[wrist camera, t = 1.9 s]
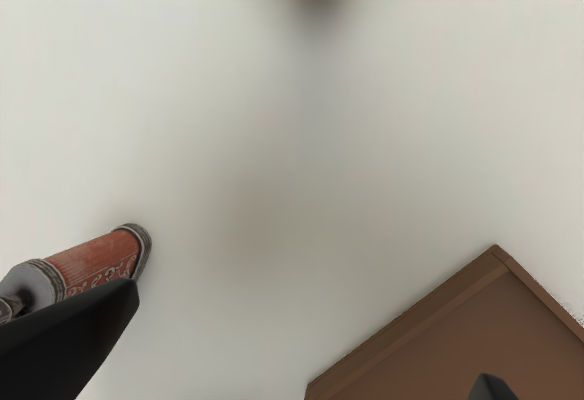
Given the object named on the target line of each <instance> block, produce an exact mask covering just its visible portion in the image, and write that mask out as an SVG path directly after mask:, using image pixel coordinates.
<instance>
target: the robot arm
mask: <svg viewBox="0 0 584 400" xmlns="http://www.w3.org/2000/svg"><path fill="white" fill-rule="evenodd" d="M139 302H140V301H139V295H138V289H137V284H136V281H135V280H133V279H130V278H127V277H118V278H115V279H113V280H110V281H108V282H105V283H103V284H100V285H98V286H95V287H93V288H91V289H88V290H86V291H83V292H81V293H78V294H76V295H73V296H71V297H68V298H66V299H63V300H61V301H59V302H56V303H54V304H51V305H49V306H46V307H44V308H41V309H39V310H36V311H34V312H31V313H29V314H26V315H24V316H22V317H19V318H17V319H14V320H12V321H9V322H7V323H4V324H2V325H0V400H75V399H76V397H77V396H78V395H79V393H80V392H81V391H82V389H83V388H84V387H85V386H86V384H87V383H88V382H89V380H90V379H91V378H92V376H93V375H94V374H95V373H96V371H97V370H98V369H99V367H100V366H101V365H102V363H103V362H104V361H105V359H106V358H107V356H108V355H109V353H110V352H111V350H112V349H113V347H114V346H115V344H116V342H117V341H118V339H119V338H120V336H121V335H122V333H123V331H124V330H125V328H126V327H127V325H128V324H129V322H130V320H131V319H132V317H133V316H134V314H135V313H136V311H137V309H138V307H139ZM468 400H520V399H519V398H518V396H517V395H516V394H515V393H514V391H513V390H512V389H511V388H510V387H509V385H508V384H507V383H506V382H505V380H503V379H502V378H501V377H499V376H496V375H492V374H488V373H480V374H479V376H478V377H477V379H476V381H475V383H474V385H473V387H472V389H471V391H470V393H469V397H468Z"/></svg>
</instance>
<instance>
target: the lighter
mask: <svg viewBox="0 0 584 400" xmlns="http://www.w3.org/2000/svg"><path fill="white" fill-rule="evenodd" d="M150 249H151V240H150V237H149V235H148V234H147V232H146V231H145V230H144V229H143V228H142V227H140V226H139V225H137V224H133V223H128V224H124V225H121V226H119V227H116V228H115V229H113V230H112V231H111V233H109V234H106V235H104V236H101V237H98V238H96V239H93V240H91V241H88V242H86V243H83V244H80V245H78V246H75V247H73V248H70V249H68V250H65V251H63V252H60V253H57V254H55V255H52V256H50V257H47V258H45V259H31V260H28V261H26V262H23V263H21V264H18V265H16V266H14V267H13V268H12V269H11V270H10V271H9V272H8V274H7V275H6V276H5V277H4V279H3V280H2V281H1V282H0V325H2V324H4V323H7V322H9V321H12V320H14V319H17V318H19V317H22V316H24V315H26V314H29V313H31V312H34V311H36V310H39V309H41V308H44V307H46V306H49V305H51V304H54V303H56V302H59V301H61V300H63V299H66V298H68V297H71V296H73V295H76V294H78V293H81V292H83V291H86V290H88V289H91V288H93V287H95V286H98V285H100V284H103V283H105V282H108V281H110V280H113V279H115V278H118V277H127V278H130V279H133V280H135V281H136V282H137V280H138V278H139V276H140V274H141V272H142V270H143V268H144V266H145V263H146V260H147V258H148V255H149V252H150Z"/></svg>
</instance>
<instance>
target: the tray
mask: <svg viewBox="0 0 584 400" xmlns="http://www.w3.org/2000/svg"><path fill="white" fill-rule="evenodd" d="M480 373H488V374H492V375H496V376H499V377H501V378H502V379H503V380H505V382H506V383H507V384H508V385H509V387H510V388H511V389H512V390H513V391H514V393H515V394H516V395H517V396H518V398H519V399H520V400H584V328H583V327H582V326H581V325H580V324H579V323H578V322H577V321H576V320H575V319H574V318H573V317H572V316H571V315H570V314H569V313H568V312H567V311H566V310H565V309H564V308H563V307H562V306H561V305H560V304H559V303H558V302H557V301H556V300H555V299H554V298H553V297H552V296H551V295H550V294H549V293H548V292H547V291H546V290H545V289H544V288H543V287H542V286H541V285H540V284H539V283H538V282H537V281H536V280H535V279H534V278H533V277H532V276H531V275H530V274H529V273H528V272H527V271H526V270H525V269H524V268H523V267H522V266H521V265H519V264H518V263H517V262H516V261H515V260H514V259H513V258H512V257H511V256H510V255H509V254H508V253H507V252H505V251H504V250H503V249H502V248H500V247H499V246H498V245H497V244H495V245H494V246H493V247H491V248H490V249H489V250H487V251H486V252H485V253H483V254H482V255H481V256H479V257H478V258H477V259H475V260H474V261H473V262H471V263H470V264H469V265H467V266H466V267H465V268H463V269H462V270H461V271H459V272H458V273H457V274H455V275H454V276H453V277H451V278H450V279H449V280H447V281H446V282H445V283H443V284H442V285H441V286H439V287H438V288H437V289H435V290H434V291H433V292H431V293H430V294H429V295H427V296H426V297H425V298H423V299H422V300H421V301H419V302H418V303H417V304H415V305H414V306H413V307H411V308H410V309H409V310H407V311H406V312H405V313H403V314H402V315H401V316H399V317H398V318H397V319H395V320H394V321H393V322H391V323H390V324H389V325H387V326H386V327H385V328H383V329H382V330H381V331H379V332H378V333H377V334H375V335H374V336H373V337H371V338H370V339H369V340H367V341H366V342H365V343H363V344H362V345H361V346H359V347H358V348H357V349H355V350H354V351H352V352H351V353H350V354H348V355H347V356H346V357H344V358H343V359H342V360H340V361H339V362H338V363H336V364H335V365H334V366H332V367H331V368H330V369H328V370H327V371H326V372H324V373H323V374H322V375H320V376H319V377H318V378H316V379H315V380H314V381H312V382H311V383H310V384H308V385H307V389H306V394H305V398H304V400H468V397H469V393H470V391H471V389H472V387H473V385H474V383H475V381H476V379H477V377H478V376H479V374H480Z"/></svg>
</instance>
